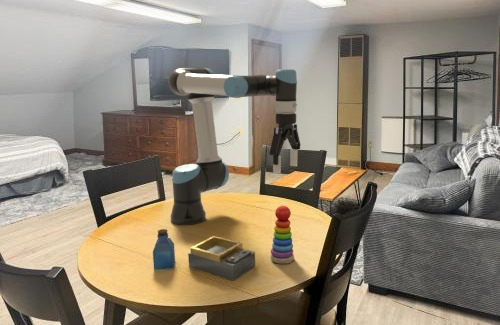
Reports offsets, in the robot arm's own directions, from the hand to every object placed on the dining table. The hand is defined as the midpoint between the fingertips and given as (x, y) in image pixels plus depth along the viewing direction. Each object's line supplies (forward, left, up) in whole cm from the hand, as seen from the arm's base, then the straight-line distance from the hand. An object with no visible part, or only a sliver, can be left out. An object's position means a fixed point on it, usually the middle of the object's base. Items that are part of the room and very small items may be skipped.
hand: (285, 169), depth 158 cm
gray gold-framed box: (-4, -35, -26) cm, 44 cm away
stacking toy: (+10, -20, -26) cm, 34 cm away
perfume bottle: (-21, -44, -26) cm, 55 cm away
